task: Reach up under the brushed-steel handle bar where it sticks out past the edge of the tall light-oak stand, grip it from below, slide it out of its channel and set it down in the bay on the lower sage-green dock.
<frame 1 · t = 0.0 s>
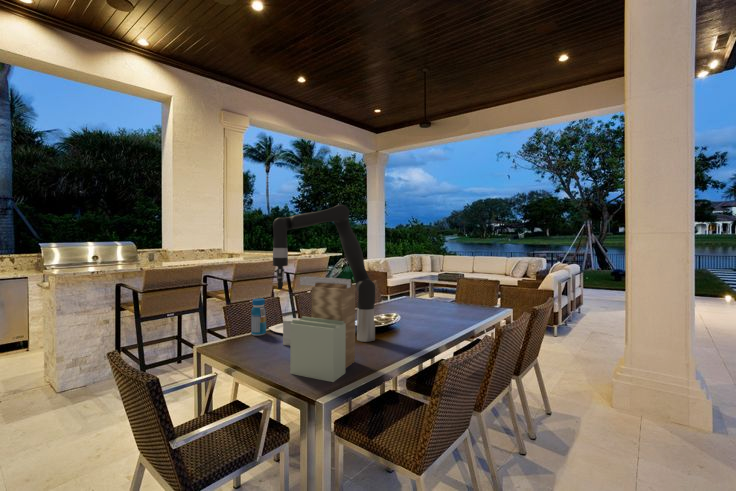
hand: (280, 288, 183), 29 cm above the table, tool pointing down, fingers open, 8 cm apart
steel bar: (324, 286, 157), point 34 cm above the table, touching oak stand
supplement box: (292, 344, 185), on the table
sage dock: (318, 373, 145), on the table
plate: (294, 330, 213), on the table
beverage bottle: (258, 334, 203), on the table
oak stand: (333, 363, 156), on the table
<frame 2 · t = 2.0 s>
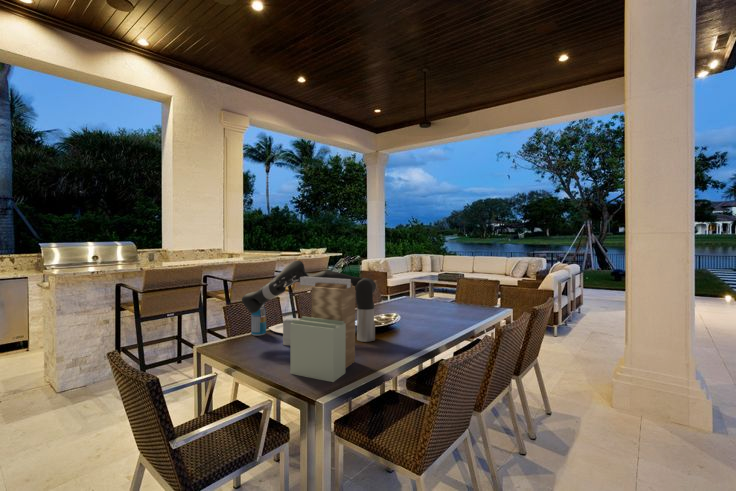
hand: (297, 275, 172), 37 cm above the table, tool pointing upward, fingers open, 8 cm apart
nothing on the table moved.
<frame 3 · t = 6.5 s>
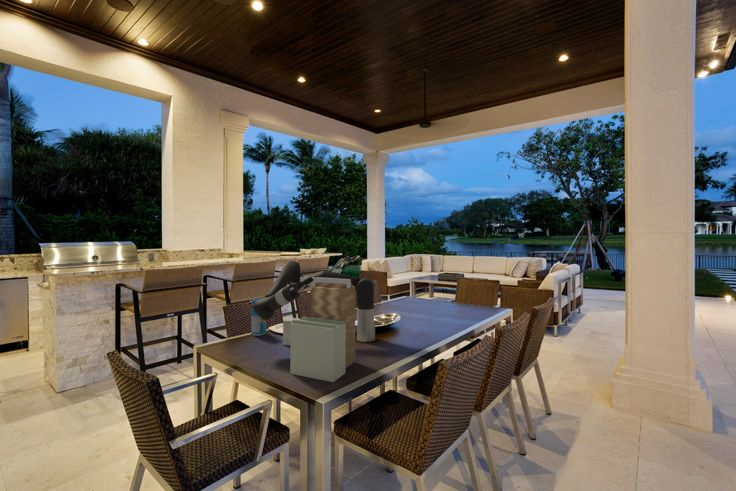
hand: (314, 278, 160), 37 cm above the table, tool pointing upward, fingers closed on steel bar, 3 cm apart
steel bar: (324, 286, 157), point 34 cm above the table, touching gripper, oak stand
everything else where it was.
when the fingers open (25 cm above the table, at t = 13.2 s): steel bar drops 1 cm, resting on sage dock.
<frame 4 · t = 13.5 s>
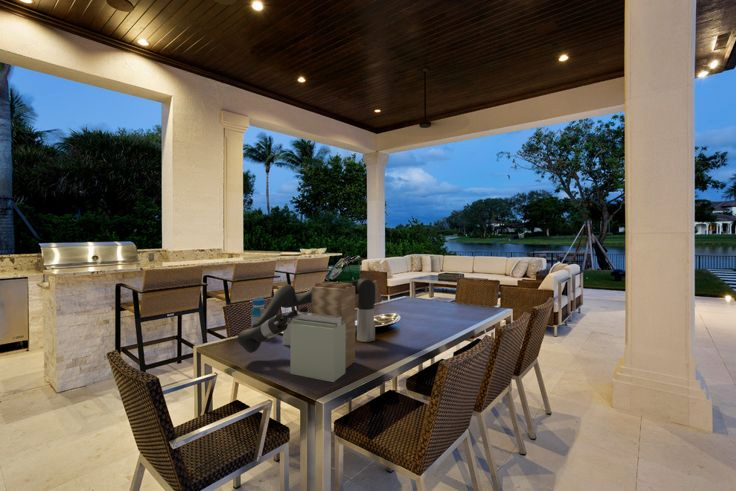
hand: (301, 310, 148), 25 cm above the table, tool pointing upward, fingers open, 6 cm apart
steel bar: (313, 322, 145), point 20 cm above the table, touching sage dock
everything else where it was.
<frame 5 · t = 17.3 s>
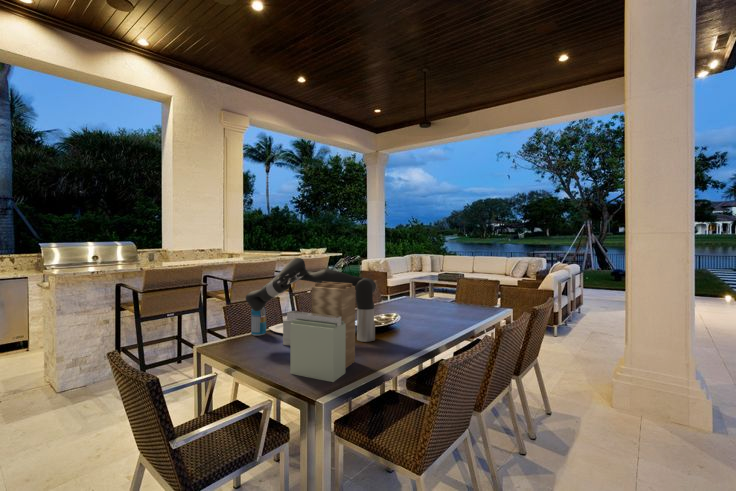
hand: (301, 271, 171), 39 cm above the table, tool pointing upward, fingers open, 8 cm apart
nothing on the table moved.
at the end: steel bar inside the target area on the sage dock (0.4 cm from its centre), point 20.5 cm above the sage dock's base; the gripper is holding nothing; steel bar moved 18.5 cm from its start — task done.
